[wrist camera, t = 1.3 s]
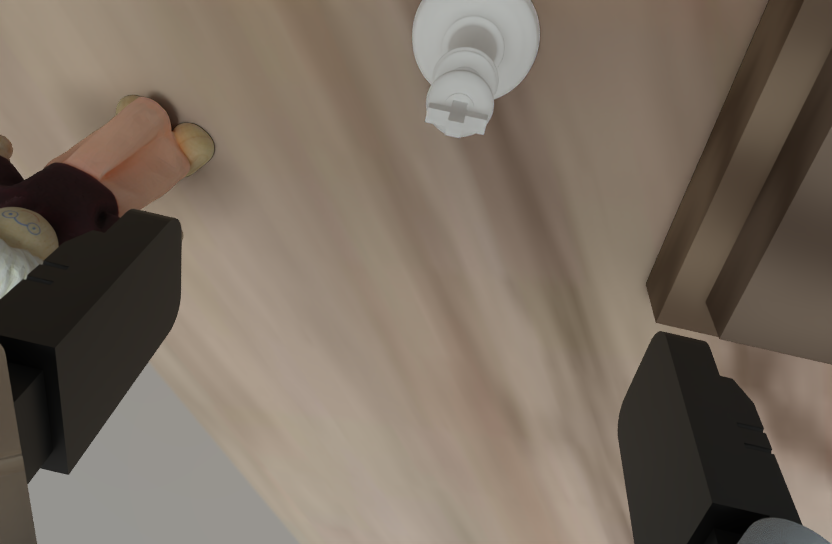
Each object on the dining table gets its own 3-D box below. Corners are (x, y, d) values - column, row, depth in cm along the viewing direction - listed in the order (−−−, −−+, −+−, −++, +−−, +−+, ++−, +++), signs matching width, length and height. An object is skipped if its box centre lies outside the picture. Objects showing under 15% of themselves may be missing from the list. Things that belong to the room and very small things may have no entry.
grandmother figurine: (243, 121, 31) (94, 277, 20) (228, 196, 33) (86, 374, 22) (69, 60, 31) (-177, 187, 20) (65, 140, 33) (-160, 294, 22)
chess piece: (521, 110, 29) (519, 227, 21) (402, 84, 29) (353, 190, 21) (555, -15, 27) (569, 59, 18) (424, -44, 27) (378, 17, 18)
